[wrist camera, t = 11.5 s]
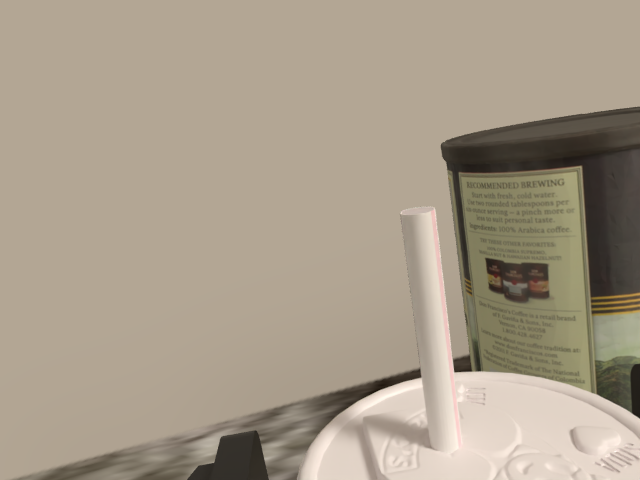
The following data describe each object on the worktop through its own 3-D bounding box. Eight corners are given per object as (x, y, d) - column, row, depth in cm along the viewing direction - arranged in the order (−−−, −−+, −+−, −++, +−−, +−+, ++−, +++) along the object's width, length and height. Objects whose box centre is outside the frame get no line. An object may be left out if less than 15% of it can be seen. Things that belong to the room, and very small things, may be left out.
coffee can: (695, 376, 27) (691, 96, 24) (760, 523, 18) (765, 107, 15) (488, 367, 32) (462, 129, 29) (457, 481, 23) (414, 153, 20)
